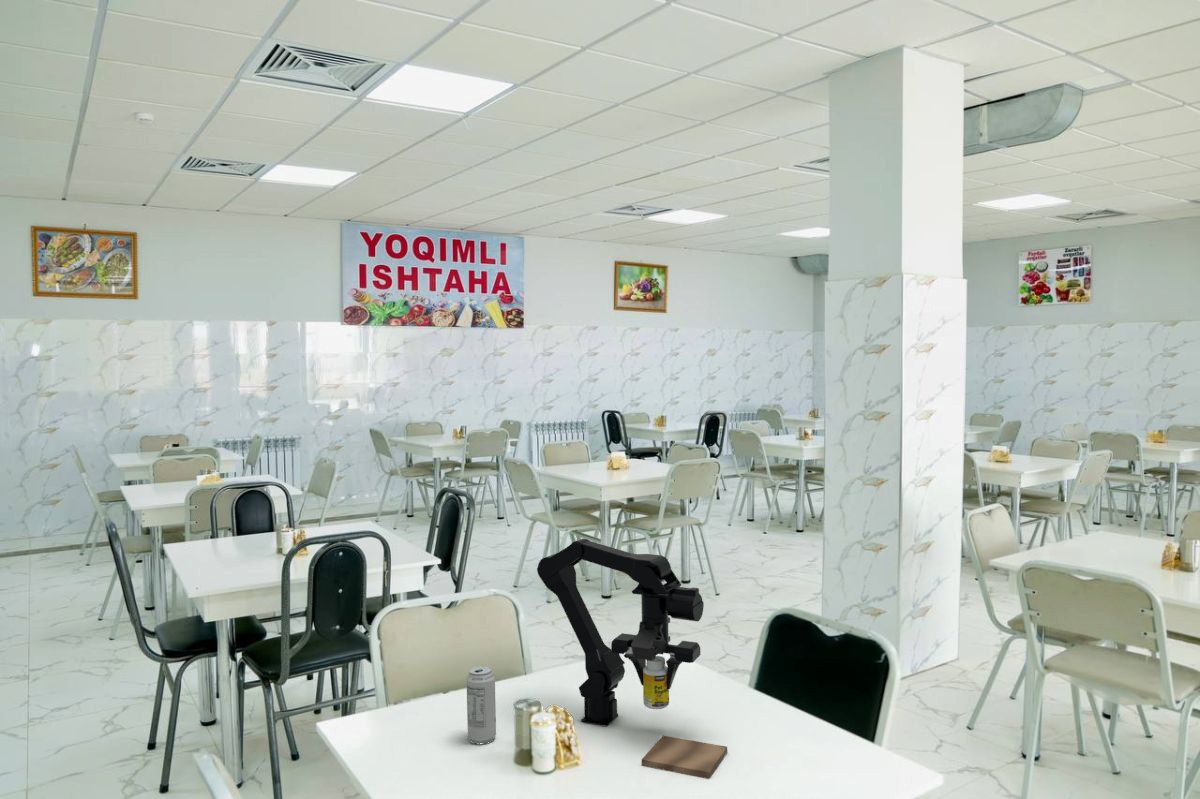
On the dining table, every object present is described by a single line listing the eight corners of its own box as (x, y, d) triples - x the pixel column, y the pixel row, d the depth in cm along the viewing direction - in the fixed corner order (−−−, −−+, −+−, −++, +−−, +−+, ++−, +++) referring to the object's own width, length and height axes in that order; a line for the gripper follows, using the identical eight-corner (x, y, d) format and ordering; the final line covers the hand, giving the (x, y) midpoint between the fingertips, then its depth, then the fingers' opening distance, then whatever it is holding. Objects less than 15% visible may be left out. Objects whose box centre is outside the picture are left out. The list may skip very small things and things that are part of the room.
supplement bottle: (653, 712, 179) (653, 664, 179) (638, 704, 184) (637, 657, 184) (674, 706, 182) (673, 659, 182) (658, 698, 187) (658, 652, 187)
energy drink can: (502, 738, 181) (500, 669, 181) (480, 748, 177) (478, 677, 176) (484, 730, 185) (482, 663, 185) (462, 739, 181) (460, 670, 180)
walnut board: (641, 765, 168) (641, 759, 168) (663, 741, 179) (662, 735, 179) (709, 778, 162) (709, 772, 162) (727, 752, 173) (727, 746, 173)
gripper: (599, 621, 179) (601, 693, 180) (683, 630, 171) (684, 706, 172) (620, 607, 189) (622, 676, 190) (700, 616, 181) (701, 687, 182)
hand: (656, 686), depth 183 cm, fingers closed on supplement bottle, 5 cm apart
